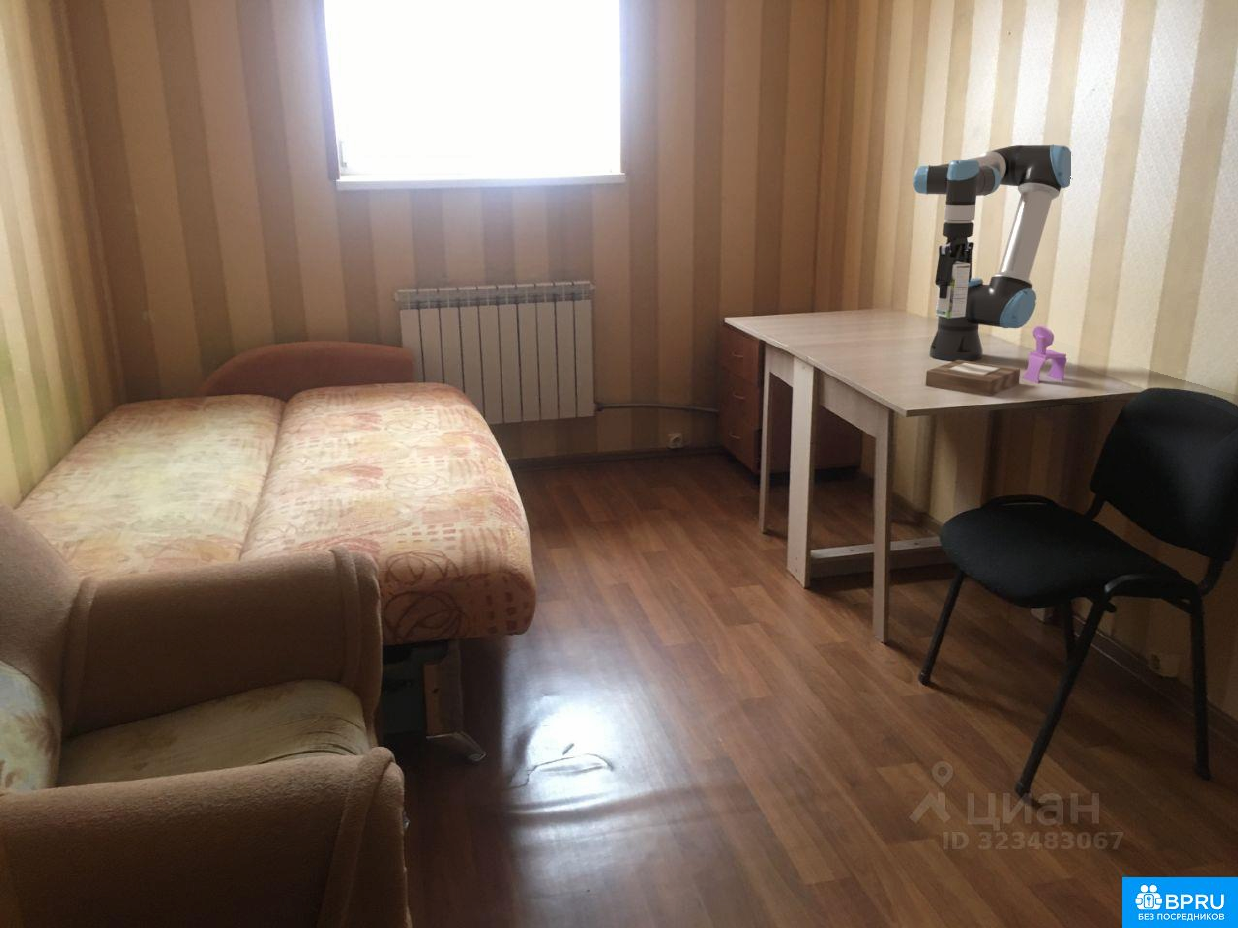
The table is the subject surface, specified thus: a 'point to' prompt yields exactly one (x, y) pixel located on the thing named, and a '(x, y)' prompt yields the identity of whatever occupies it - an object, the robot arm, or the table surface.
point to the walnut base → (973, 377)
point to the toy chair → (1044, 356)
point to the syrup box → (956, 291)
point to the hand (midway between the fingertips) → (951, 308)
